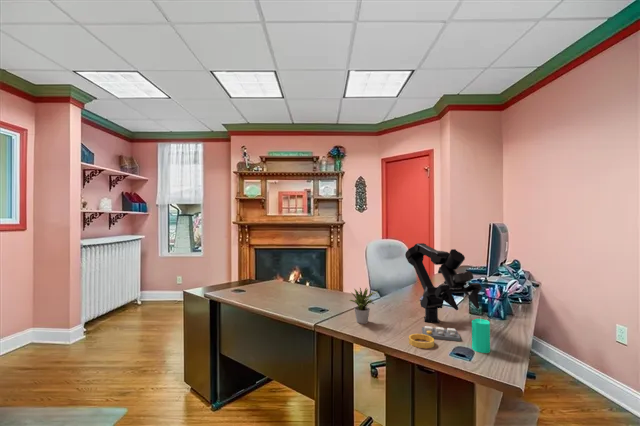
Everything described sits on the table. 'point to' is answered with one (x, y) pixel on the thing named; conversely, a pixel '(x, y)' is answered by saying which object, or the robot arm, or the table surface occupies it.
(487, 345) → the candle
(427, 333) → the breaker panel
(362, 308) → the house plant
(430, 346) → the ring
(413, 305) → the table surface
